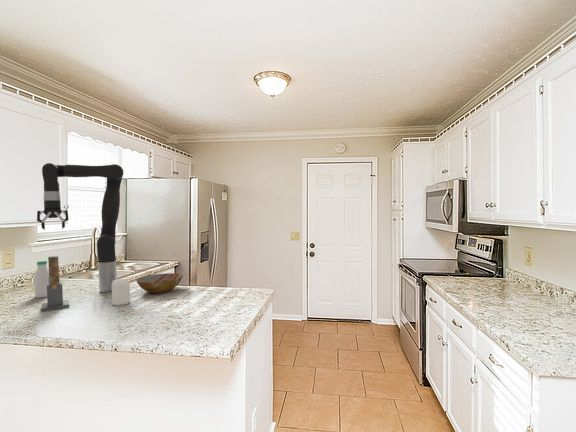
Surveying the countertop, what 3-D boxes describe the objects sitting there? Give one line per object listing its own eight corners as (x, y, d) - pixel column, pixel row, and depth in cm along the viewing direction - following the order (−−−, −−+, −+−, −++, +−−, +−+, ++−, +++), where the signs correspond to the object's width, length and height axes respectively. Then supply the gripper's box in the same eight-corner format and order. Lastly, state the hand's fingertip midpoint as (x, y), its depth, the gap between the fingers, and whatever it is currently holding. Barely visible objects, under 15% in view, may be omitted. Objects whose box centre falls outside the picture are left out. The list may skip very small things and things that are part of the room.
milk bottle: (45, 298, 183) (43, 262, 183) (31, 298, 184) (29, 262, 183) (55, 294, 191) (53, 259, 191) (42, 294, 191) (40, 260, 191)
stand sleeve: (68, 302, 173) (67, 280, 172) (69, 307, 164) (68, 284, 163) (42, 306, 166) (41, 283, 166) (41, 311, 157) (40, 287, 157)
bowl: (167, 297, 177) (167, 282, 176) (126, 296, 182) (125, 282, 182) (190, 286, 201) (190, 273, 201) (153, 285, 206) (153, 273, 206)
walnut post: (59, 289, 168) (58, 255, 167) (59, 290, 164) (58, 256, 164) (49, 290, 165) (48, 256, 165) (49, 292, 162) (48, 257, 162)
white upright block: (108, 305, 166) (107, 281, 165) (123, 300, 173) (122, 278, 173) (119, 306, 162) (118, 282, 162) (133, 302, 169) (132, 279, 169)
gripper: (67, 200, 191) (68, 228, 191) (36, 200, 183) (37, 229, 183) (67, 199, 185) (69, 228, 185) (35, 199, 177) (37, 230, 177)
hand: (53, 229), depth 184 cm, fingers open, 8 cm apart
